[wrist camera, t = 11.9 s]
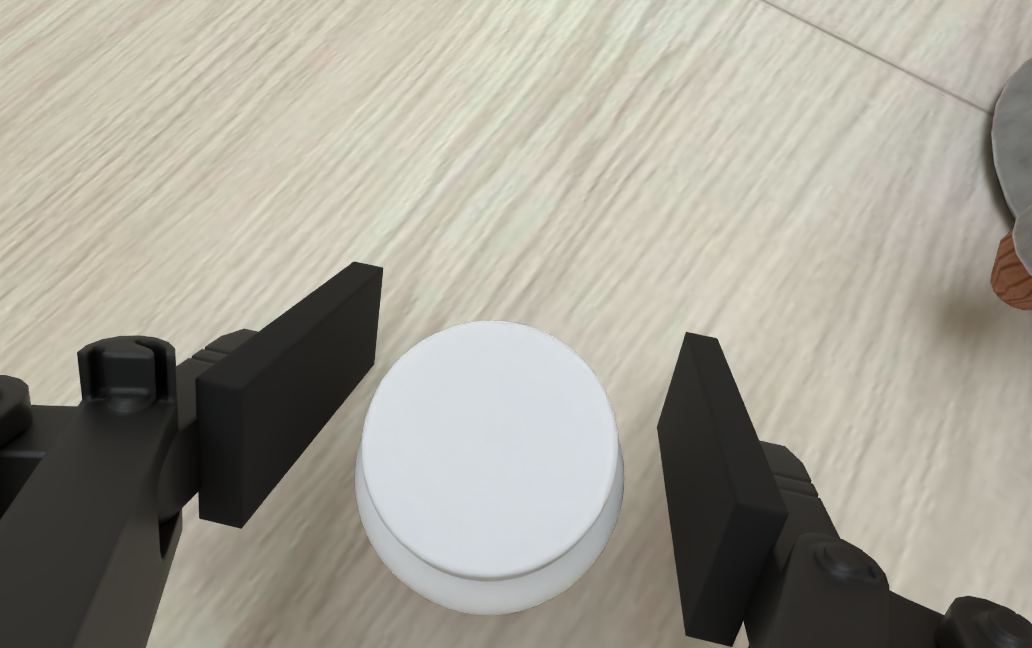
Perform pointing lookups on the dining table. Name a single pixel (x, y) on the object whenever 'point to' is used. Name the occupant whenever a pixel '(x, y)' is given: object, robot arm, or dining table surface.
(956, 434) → the dining table surface
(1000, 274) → the mug
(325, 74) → the dining table surface
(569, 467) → the pill bottle
